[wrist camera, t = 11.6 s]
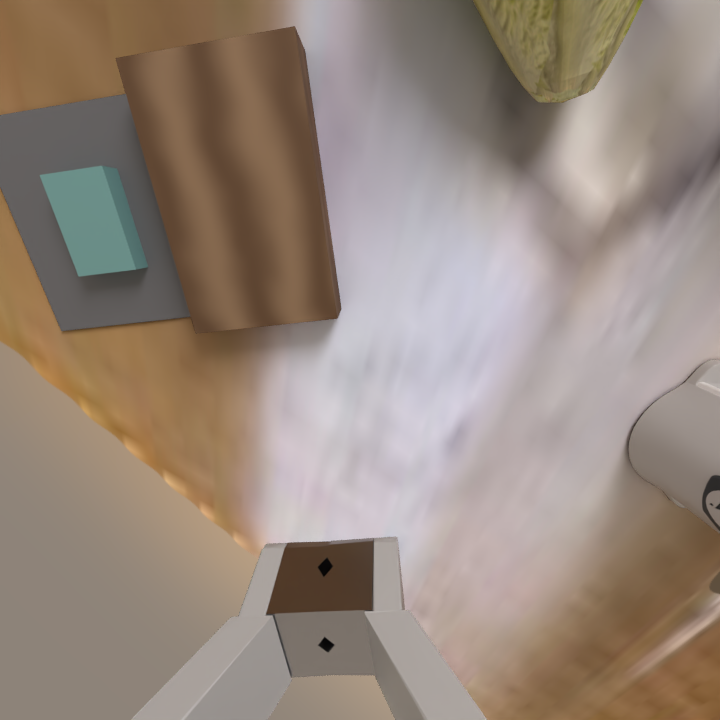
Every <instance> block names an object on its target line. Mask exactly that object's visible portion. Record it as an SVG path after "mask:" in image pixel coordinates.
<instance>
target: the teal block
mask: <svg viewBox="0 0 720 720" xmlns="http://www.w3.org/2000/svg"><path fill="white" fill-rule="evenodd" d="M40 178H41V180H42V183H43V186H44V188H45V191H46V193H47V196H48V198H49V201H50V204H51V206H52V209H53V211H54V214H55V217H56V219H57V222H58V224H59V227H60V230H61V232H62V235H63V237H64V240H65V243H66V245H67V248H68V250H69V253H70V255H71V258H72V261H73V263H74V266H75V268H76V271H77V274H78V276H79V277H80V276H88V275H96V274H104V273H112V272H120V271H128V270H136V269H141V268H146V267H148V264H147V261H146V258H145V255H144V252H143V249H142V246H141V242H140V239H139V236H138V233H137V230H136V227H135V223H134V220H133V217H132V214H131V211H130V208H129V204H128V201H127V198H126V195H125V192H124V189H123V186H122V182H121V179H120V176H119V173H118V170H117V169H116V168H111V167H106V166H96V167H90V168H83V169H76V170H70V171H63V172H56V173H50V174H43V175H40Z"/></svg>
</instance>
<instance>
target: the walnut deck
mask: <svg viewBox="0 0 720 720" xmlns="http://www.w3.org/2000/svg"><path fill="white" fill-rule="evenodd" d="M116 62H117V65H118V69H119V72H120V76H121V79H122V82H123V86H124V89H125V93H126V96H127V100H128V103H129V106H130V110H131V113H132V117H133V120H134V124H135V127H136V130H137V134H138V137H139V141H140V144H141V148H142V151H143V154H144V158H145V161H146V165H147V168H148V172H149V175H150V179H151V182H152V185H153V189H154V192H155V196H156V199H157V203H158V206H159V209H160V213H161V216H162V220H163V223H164V227H165V230H166V233H167V237H168V240H169V244H170V247H171V251H172V254H173V258H174V261H175V264H176V268H177V271H178V275H179V278H180V282H181V285H182V288H183V292H184V295H185V299H186V302H187V306H188V309H189V312H190V316H191V319H192V323H193V326H194V330H195V333H196V334H197V333H206V332H216V331H225V330H234V329H244V328H253V327H262V326H272V325H281V324H290V323H300V322H309V321H319V320H328V319H337V318H338V316H339V313H340V311H341V303H340V296H339V289H338V282H337V275H336V268H335V260H334V253H333V246H332V239H331V232H330V225H329V218H328V211H327V204H326V196H325V189H324V182H323V175H322V168H321V161H320V154H319V147H318V140H317V132H316V125H315V118H314V111H313V104H312V97H311V90H310V83H309V76H308V68H307V61H306V54H305V49H304V47H303V45H302V42H301V40H300V38H299V35H298V33H297V31H296V28H295V26H294V27H288V28H283V29H277V30H271V31H266V32H260V33H255V34H249V35H243V36H238V37H232V38H226V39H221V40H215V41H210V42H204V43H198V44H193V45H187V46H182V47H176V48H170V49H165V50H159V51H153V52H148V53H142V54H137V55H131V56H125V57H120V58H116Z"/></svg>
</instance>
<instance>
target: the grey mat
mask: <svg viewBox="0 0 720 720" xmlns="http://www.w3.org/2000/svg"><path fill="white" fill-rule="evenodd" d="M96 166H106V167H111V168H116V169H117V170H118V173H119V176H120V179H121V182H122V186H123V189H124V192H125V195H126V198H127V201H128V204H129V208H130V211H131V214H132V217H133V220H134V223H135V227H136V230H137V233H138V236H139V239H140V242H141V246H142V249H143V252H144V255H145V258H146V261H147V264H148V267H146V268H141V269H136V270H128V271H120V272H112V273H104V274H96V275H88V276H80V277H79V276H78V274H77V271H76V268H75V266H74V263H73V261H72V258H71V255H70V253H69V250H68V248H67V245H66V243H65V240H64V237H63V235H62V232H61V230H60V227H59V224H58V222H57V219H56V217H55V214H54V211H53V209H52V206H51V204H50V201H49V198H48V196H47V193H46V191H45V188H44V186H43V183H42V180H41V178H40V175H43V174H50V173H56V172H63V171H70V170H76V169H83V168H90V167H96ZM0 188H1V190H2V192H3V195H4V197H5V199H6V202H7V204H8V206H9V209H10V211H11V213H12V216H13V218H14V220H15V223H16V225H17V227H18V230H19V232H20V235H21V237H22V239H23V242H24V244H25V246H26V249H27V251H28V253H29V256H30V258H31V260H32V263H33V265H34V267H35V270H36V272H37V275H38V277H39V279H40V282H41V284H42V286H43V289H44V291H45V293H46V296H47V298H48V300H49V303H50V305H51V307H52V310H53V312H54V314H55V317H56V319H57V322H58V324H59V326H60V329H61V331H66V330H75V329H84V328H93V327H102V326H111V325H120V324H129V323H138V322H147V321H156V320H165V319H174V318H183V317H191V316H190V312H189V309H188V306H187V302H186V299H185V295H184V292H183V288H182V285H181V282H180V278H179V275H178V271H177V268H176V264H175V261H174V258H173V254H172V251H171V247H170V244H169V240H168V237H167V233H166V230H165V227H164V223H163V220H162V216H161V213H160V209H159V206H158V203H157V199H156V196H155V192H154V189H153V185H152V182H151V179H150V175H149V172H148V168H147V165H146V161H145V158H144V154H143V151H142V148H141V144H140V141H139V137H138V134H137V130H136V127H135V124H134V120H133V117H132V113H131V110H130V106H129V103H128V100H127V96H126V94H123V95H117V96H111V97H105V98H99V99H93V100H87V101H82V102H76V103H70V104H64V105H58V106H52V107H46V108H40V109H34V110H28V111H22V112H16V113H10V114H4V115H0Z"/></svg>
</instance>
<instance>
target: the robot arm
mask: <svg viewBox="0 0 720 720" xmlns="http://www.w3.org/2000/svg"><path fill="white" fill-rule="evenodd" d="M629 458H630V461H631V464H632V466H633V468H634V469H635V471H636V472H637V473H638V474H639V475H640V476H641V477H642V478H643V479H645V480H646V481H648V482H649V483H651V484H653V485H655V486H656V487H658V488H659V489H661V490H663V491H664V493H665V494H666V495H667V497H668V498H669V499H670V500H671V501H672V502H673V503H675V504H676V505H677V506H679V507H682V508H687V509H688V510H689V511H691V512H692V513H693V514H695V515H696V516H697V517H699V518H700V519H701V520H702V521H704V522H705V523H706V524H708V525H709V526H710V527H712V528H713V529H714V530H716V531H717V532H718V533H720V360H709V361H707V362H705V363H704V364H702V365H701V366H700V367H699V368H698V369H697V370H696V371H695V372H694V373H693V374H692V375H691V376H690V377H689V378H688V380H687V381H686V382H685V383H683V384H682V385H680V386H679V387H677V388H676V389H674V390H672V391H670V392H669V393H667V394H665V395H664V396H662V397H661V398H660V399H658V400H657V401H656V402H655V403H653V404H652V405H651V406H650V407H649V408H648V409H647V410H646V411H645V412H644V414H643V415H642V416H641V417H640V419H639V420H638V422H637V423H636V425H635V427H634V429H633V431H632V434H631V437H630V441H629ZM323 675H375V677H376V680H377V682H378V684H379V686H380V688H381V690H382V693H383V695H384V697H385V699H386V701H387V703H388V705H389V707H390V710H391V712H392V714H393V716H394V718H395V720H487V719H486V717H485V716H484V714H483V713H482V712H481V710H480V709H479V707H478V706H477V705H476V703H475V702H474V700H473V699H472V698H471V696H470V695H469V693H468V692H467V690H466V689H465V688H464V686H463V685H462V683H461V682H460V681H459V679H458V678H457V676H456V675H455V674H454V672H453V671H452V669H451V668H450V667H449V665H448V664H447V662H446V661H445V659H444V658H443V657H442V655H441V654H440V652H439V651H438V650H437V648H436V647H435V645H434V644H433V643H432V641H431V640H430V638H429V637H428V635H427V634H426V633H425V631H424V630H423V628H422V627H421V626H420V624H419V623H418V621H417V620H416V619H415V617H414V616H413V614H412V613H411V611H410V610H405V605H404V594H403V585H402V575H401V566H400V557H399V547H398V539H397V537H383V538H375V539H374V538H366V539H351V540H336V541H330V542H294V543H273V544H266V545H265V546H264V548H263V549H262V551H261V553H260V556H259V559H258V562H257V565H256V567H255V570H254V573H253V576H252V579H251V582H250V584H249V587H248V590H247V593H246V596H245V599H244V601H243V604H242V607H241V610H240V612H239V615H238V616H236V617H231V618H230V619H229V620H228V621H227V622H226V623H225V624H224V625H223V626H222V627H221V628H220V629H219V630H218V631H217V632H216V633H215V634H214V635H213V636H212V637H211V638H210V639H209V640H208V641H207V642H206V643H205V644H204V645H203V646H202V647H201V648H200V649H199V650H198V652H196V653H195V654H194V656H193V657H192V658H191V659H190V660H189V661H188V662H187V663H186V664H185V665H184V666H183V667H182V668H181V669H180V670H179V671H178V672H177V673H176V674H175V675H174V676H173V677H172V678H171V679H170V680H169V681H168V682H167V683H166V684H165V685H164V686H163V687H162V688H161V690H160V691H158V693H157V694H155V696H154V697H153V698H152V699H151V700H150V701H149V702H148V703H147V704H146V705H145V706H144V707H143V708H142V709H141V710H140V711H139V712H138V713H137V714H136V715H135V716H134V717H133V718H132V719H131V720H268V718H269V717H270V715H271V714H272V712H273V710H274V709H275V707H276V705H277V704H278V702H279V700H280V699H281V697H282V696H283V694H284V692H285V691H286V689H287V688H288V686H289V684H290V683H291V681H292V680H291V677H307V676H323Z"/></svg>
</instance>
